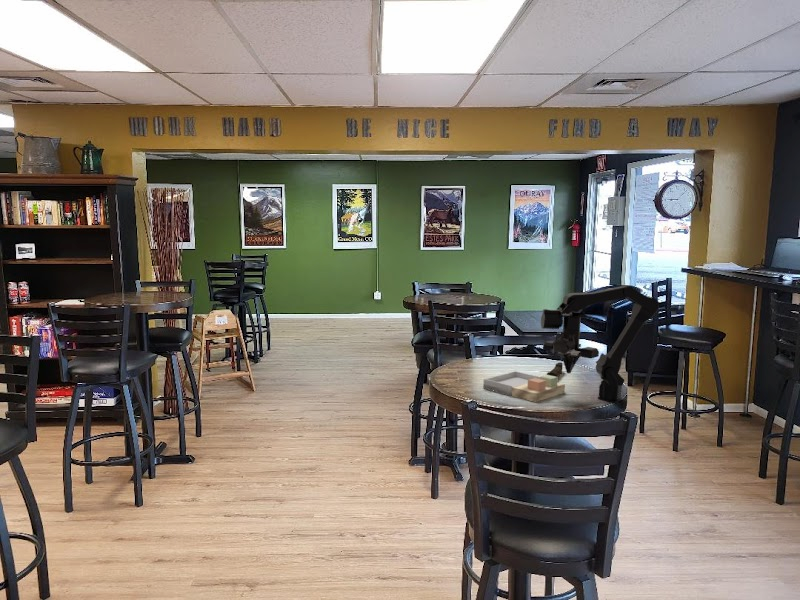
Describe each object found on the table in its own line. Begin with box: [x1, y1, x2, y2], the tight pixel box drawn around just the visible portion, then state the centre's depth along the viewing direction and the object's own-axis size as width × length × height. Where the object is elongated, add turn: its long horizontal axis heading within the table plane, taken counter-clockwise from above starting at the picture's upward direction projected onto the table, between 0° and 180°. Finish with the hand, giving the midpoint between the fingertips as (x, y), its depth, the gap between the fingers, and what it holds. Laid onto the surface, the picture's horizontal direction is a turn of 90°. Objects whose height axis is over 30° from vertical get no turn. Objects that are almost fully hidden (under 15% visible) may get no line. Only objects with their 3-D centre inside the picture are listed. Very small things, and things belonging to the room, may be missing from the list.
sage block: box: [539, 374, 559, 387], centre depth 203 cm, size 4×4×3 cm
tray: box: [482, 370, 540, 397], centre depth 210 cm, size 12×20×4 cm, turn 134°
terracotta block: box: [527, 378, 546, 391], centre depth 198 cm, size 4×4×3 cm
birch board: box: [512, 382, 566, 403], centre depth 202 cm, size 10×19×3 cm, turn 134°
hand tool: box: [546, 362, 564, 378], centre depth 229 cm, size 19×4×5 cm, turn 150°
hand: (568, 373), depth 198 cm, fingers closed
